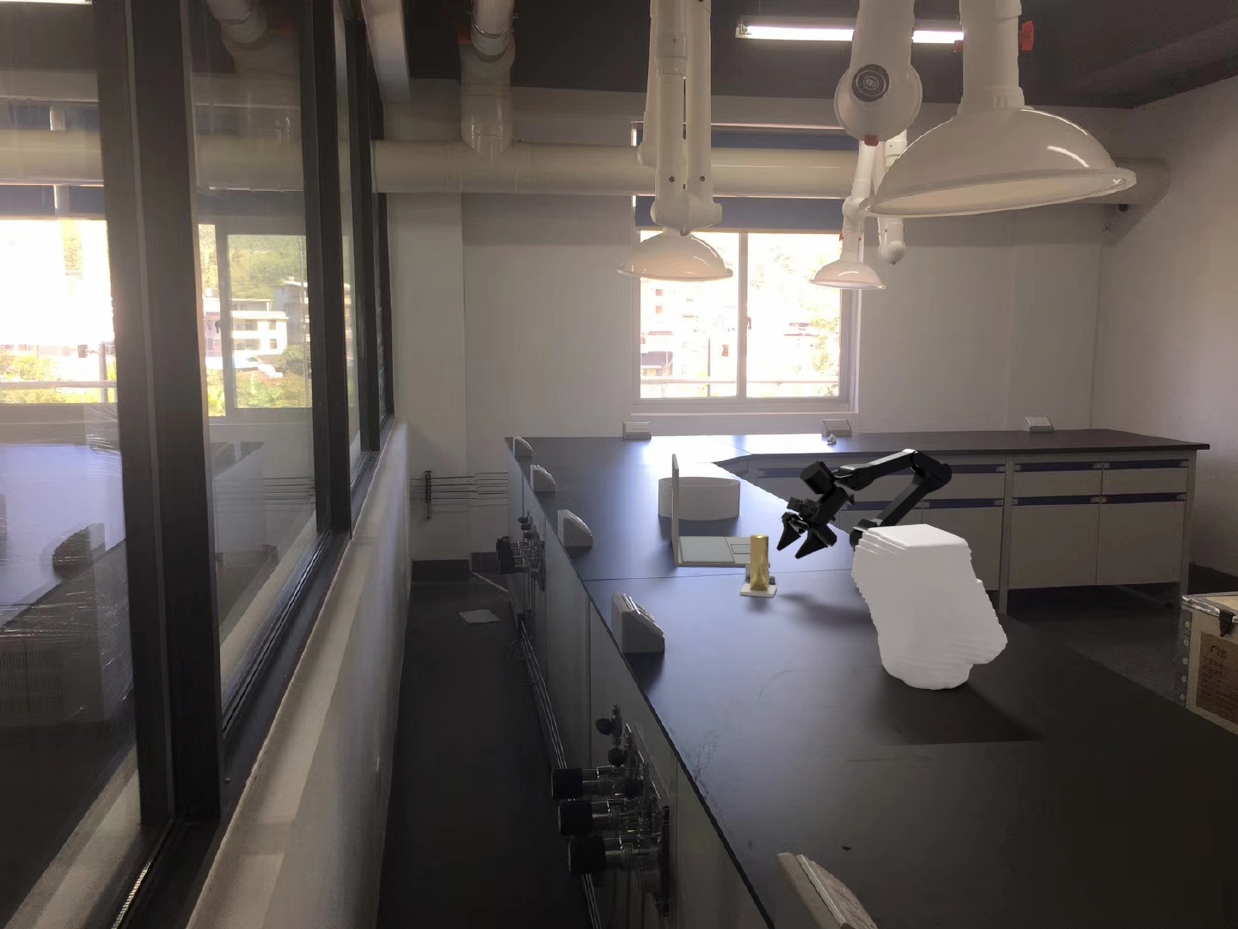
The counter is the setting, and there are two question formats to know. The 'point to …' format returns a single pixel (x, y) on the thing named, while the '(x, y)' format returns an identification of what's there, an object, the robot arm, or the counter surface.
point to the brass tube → (759, 562)
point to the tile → (766, 593)
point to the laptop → (704, 541)
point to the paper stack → (926, 604)
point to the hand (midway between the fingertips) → (786, 553)
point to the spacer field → (747, 575)
